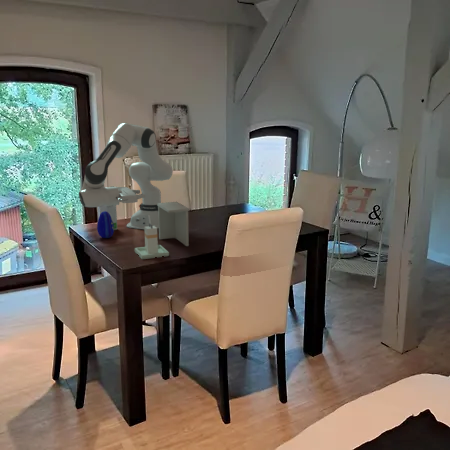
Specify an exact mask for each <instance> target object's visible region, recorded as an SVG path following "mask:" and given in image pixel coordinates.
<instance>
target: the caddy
mask: <svg viewBox="0 0 450 450" xmlns="http://www.w3.org/2000/svg"><path fill="white" fill-rule="evenodd" d="M143 231H144V247H145V252H146V253H147V254H155V253H158V245H159V243H158V238H159V235H158V228H156V227H155V226H152V225H151V224H150V223H149V226H146V227H144V229H143Z"/></svg>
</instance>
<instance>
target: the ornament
mask: <svg viewBox="0 0 450 450" xmlns="http://www.w3.org/2000/svg"><path fill="white" fill-rule="evenodd" d="M96 230H97V234H98V235H99V236H100V238H103V239H110V238H111V237H112V236H113V235H114V232H115V230H114V224H113V221H112V218H111V216H110V214H109V213H108V212H106V211H103V212H102V213H101V214H100V213H99V217H98V220H97V225H96Z"/></svg>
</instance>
